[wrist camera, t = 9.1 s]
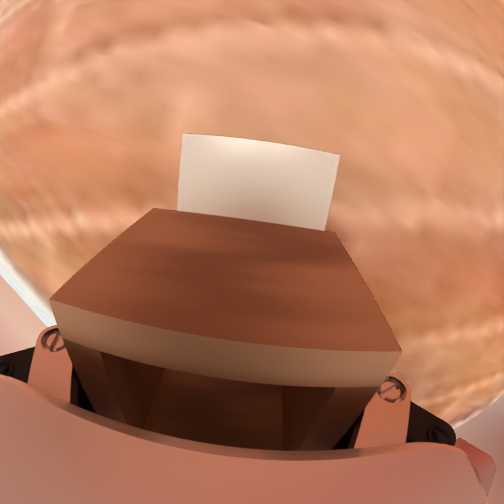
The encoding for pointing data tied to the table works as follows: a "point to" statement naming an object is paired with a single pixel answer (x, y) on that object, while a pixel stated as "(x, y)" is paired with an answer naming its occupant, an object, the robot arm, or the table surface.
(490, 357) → the table surface
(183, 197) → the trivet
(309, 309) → the hollow wooden box
